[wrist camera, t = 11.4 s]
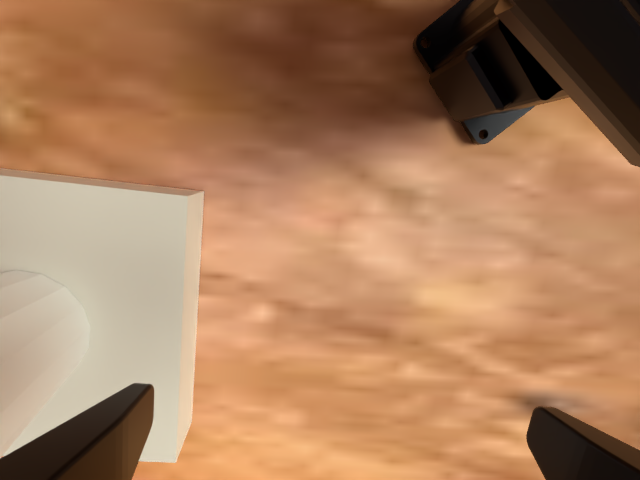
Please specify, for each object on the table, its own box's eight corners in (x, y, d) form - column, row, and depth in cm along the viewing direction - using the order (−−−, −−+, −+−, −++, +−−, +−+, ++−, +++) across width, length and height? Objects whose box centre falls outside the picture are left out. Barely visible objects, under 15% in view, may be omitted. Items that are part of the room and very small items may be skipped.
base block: (-90, 157, 17) (-169, 156, 14) (204, 191, 18) (187, 196, 16) (-62, 409, 20) (-122, 451, 17) (191, 421, 21) (175, 462, 18)
